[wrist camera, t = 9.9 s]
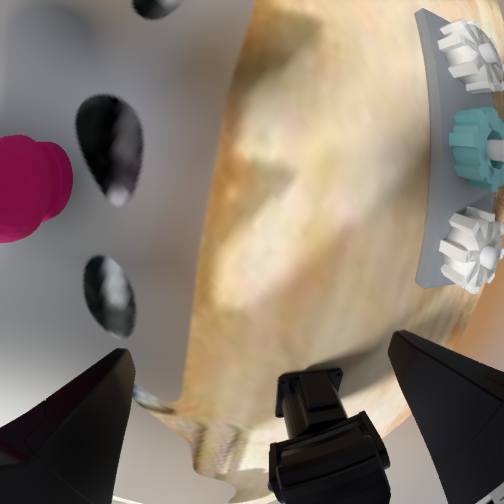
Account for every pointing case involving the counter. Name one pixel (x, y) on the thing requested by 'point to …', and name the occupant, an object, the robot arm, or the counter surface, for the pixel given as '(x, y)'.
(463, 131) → the teal gear
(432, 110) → the gear board
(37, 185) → the pepper mill
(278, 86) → the counter surface
